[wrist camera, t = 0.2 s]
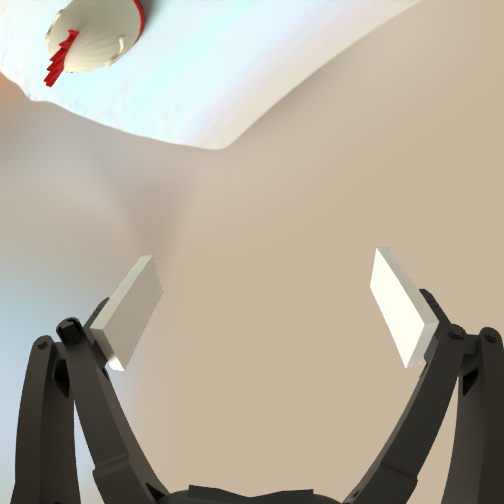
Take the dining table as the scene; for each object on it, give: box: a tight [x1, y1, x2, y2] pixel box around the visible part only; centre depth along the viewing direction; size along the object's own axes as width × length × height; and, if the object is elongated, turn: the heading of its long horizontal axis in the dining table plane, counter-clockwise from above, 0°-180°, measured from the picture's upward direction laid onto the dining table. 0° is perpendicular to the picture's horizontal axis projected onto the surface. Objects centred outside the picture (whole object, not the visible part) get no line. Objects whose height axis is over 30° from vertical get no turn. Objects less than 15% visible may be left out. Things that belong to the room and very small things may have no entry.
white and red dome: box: [44, 0, 144, 87], centre depth 23 cm, size 14×14×15 cm
